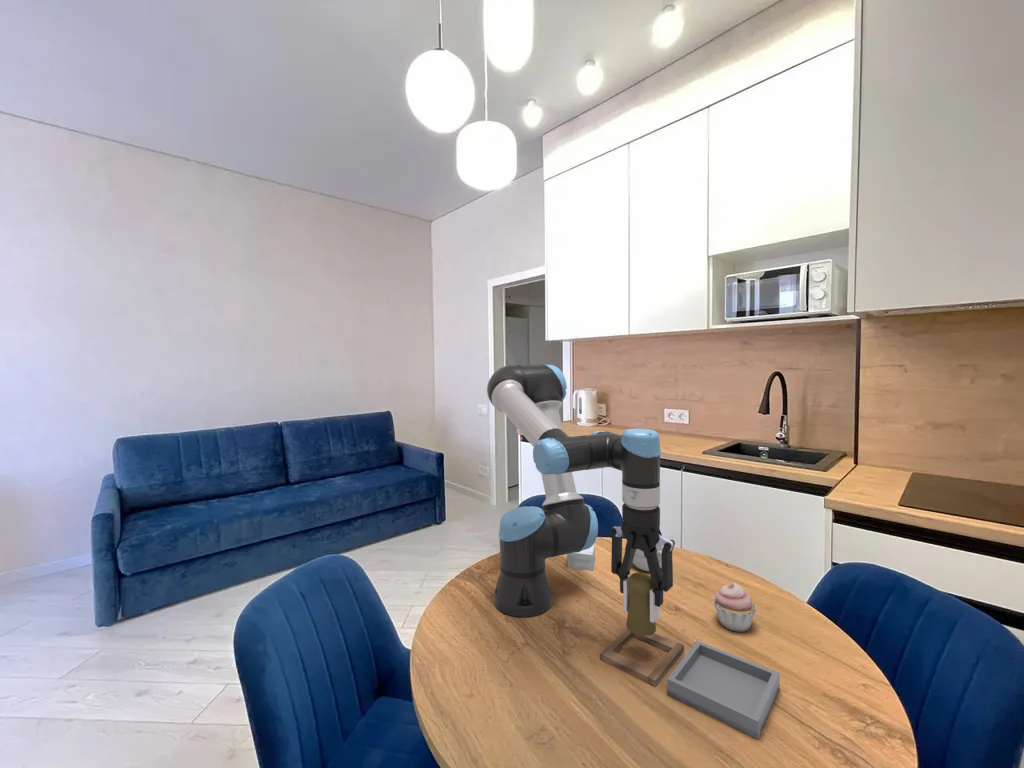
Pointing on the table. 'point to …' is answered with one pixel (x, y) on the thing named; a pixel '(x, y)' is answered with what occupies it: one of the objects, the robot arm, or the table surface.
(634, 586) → the olive bulb peg
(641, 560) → the teacup
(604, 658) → the socket block
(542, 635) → the table surface
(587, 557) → the small box
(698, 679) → the tray
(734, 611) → the cupcake
